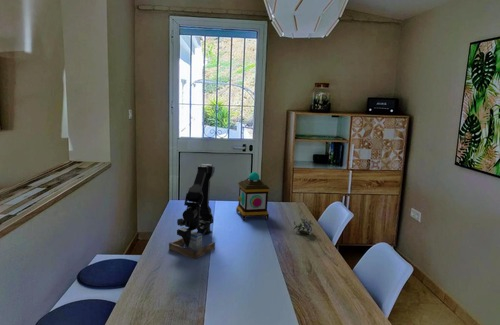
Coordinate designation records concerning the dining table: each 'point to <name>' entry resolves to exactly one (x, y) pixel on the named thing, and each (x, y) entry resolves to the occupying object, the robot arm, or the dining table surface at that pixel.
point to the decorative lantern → (253, 197)
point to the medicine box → (195, 241)
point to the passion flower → (304, 226)
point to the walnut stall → (192, 254)
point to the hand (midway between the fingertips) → (193, 244)
